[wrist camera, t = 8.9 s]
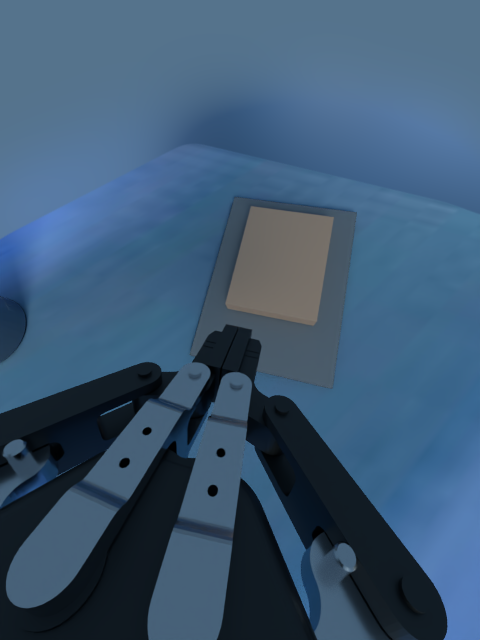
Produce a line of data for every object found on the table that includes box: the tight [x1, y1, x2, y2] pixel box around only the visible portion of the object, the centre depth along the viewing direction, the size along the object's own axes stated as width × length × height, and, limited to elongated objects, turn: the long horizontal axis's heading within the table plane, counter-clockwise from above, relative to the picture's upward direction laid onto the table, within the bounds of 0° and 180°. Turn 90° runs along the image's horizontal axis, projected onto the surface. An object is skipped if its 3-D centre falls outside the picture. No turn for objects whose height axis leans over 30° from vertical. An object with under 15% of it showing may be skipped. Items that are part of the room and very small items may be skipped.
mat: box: [190, 197, 357, 388], centre depth 29 cm, size 22×16×1 cm
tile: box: [225, 206, 334, 326], centre depth 28 cm, size 2×10×13 cm
